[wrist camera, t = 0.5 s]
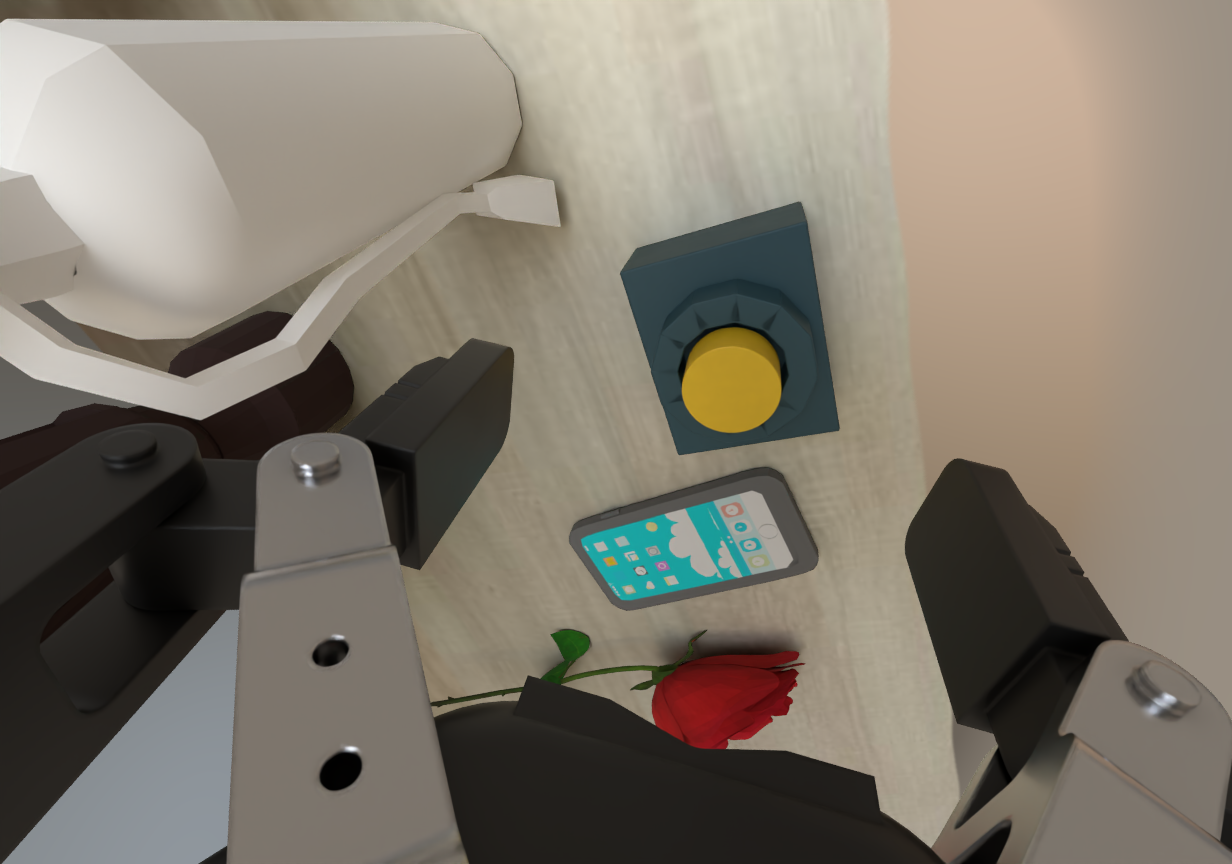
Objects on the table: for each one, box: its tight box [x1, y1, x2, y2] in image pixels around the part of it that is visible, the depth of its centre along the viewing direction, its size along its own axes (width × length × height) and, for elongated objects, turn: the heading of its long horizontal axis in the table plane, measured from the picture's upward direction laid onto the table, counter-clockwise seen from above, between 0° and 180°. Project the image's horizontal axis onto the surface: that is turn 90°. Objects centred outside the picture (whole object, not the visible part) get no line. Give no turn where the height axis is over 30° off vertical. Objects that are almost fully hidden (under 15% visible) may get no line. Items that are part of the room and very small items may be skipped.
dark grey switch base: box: [620, 202, 840, 455], centre depth 27 cm, size 10×8×6 cm
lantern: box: [0, 311, 353, 644], centre depth 25 cm, size 15×15×30 cm
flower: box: [430, 630, 805, 749], centre depth 43 cm, size 9×9×30 cm
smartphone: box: [569, 468, 819, 611], centre depth 38 cm, size 9×1×15 cm
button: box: [682, 327, 782, 433], centre depth 24 cm, size 4×4×2 cm
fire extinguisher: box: [0, 19, 561, 420], centre depth 17 cm, size 7×12×25 cm, turn 45°
